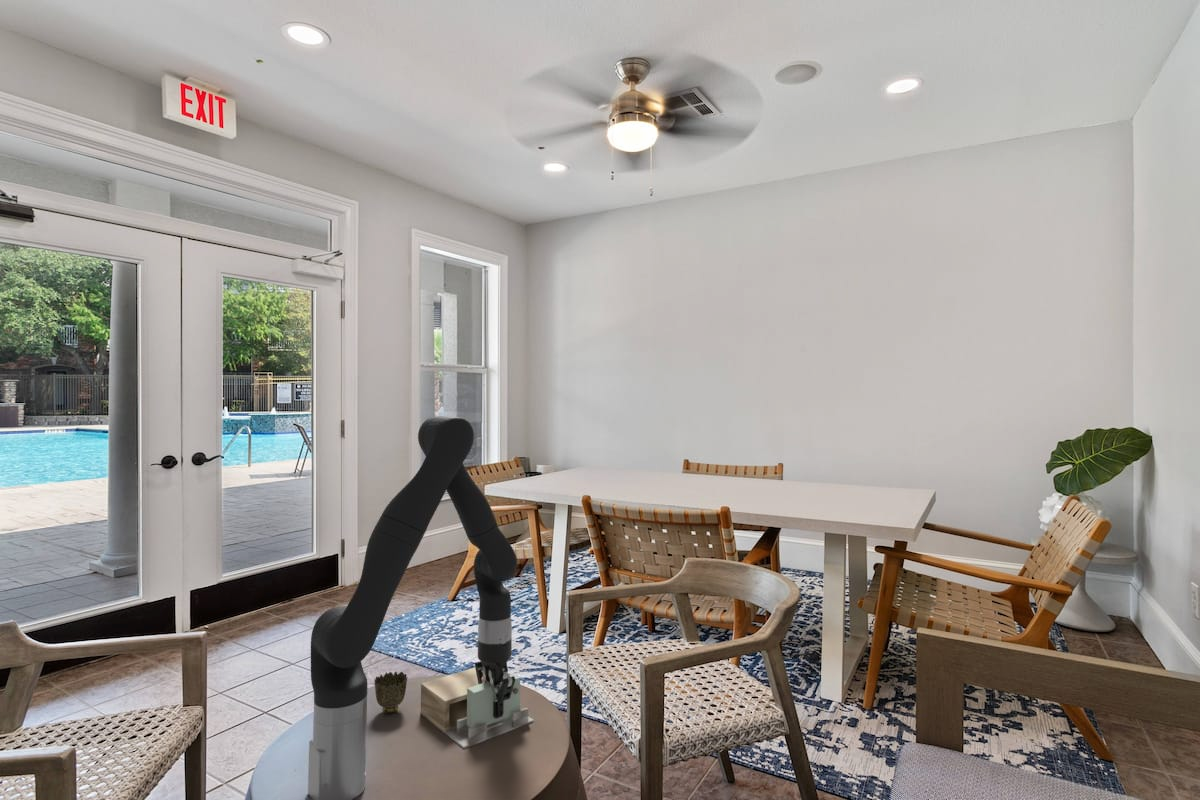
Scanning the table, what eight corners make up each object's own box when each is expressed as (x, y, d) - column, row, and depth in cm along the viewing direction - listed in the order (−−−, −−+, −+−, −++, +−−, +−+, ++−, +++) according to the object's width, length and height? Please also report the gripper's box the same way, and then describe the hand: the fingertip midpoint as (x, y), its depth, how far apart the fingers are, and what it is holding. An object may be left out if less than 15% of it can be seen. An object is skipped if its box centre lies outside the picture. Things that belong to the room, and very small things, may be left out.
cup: (372, 707, 148) (373, 673, 148) (404, 702, 151) (405, 669, 151) (375, 721, 141) (376, 686, 141) (408, 715, 144) (409, 680, 144)
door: (476, 732, 133) (476, 694, 133) (466, 725, 136) (467, 688, 136) (522, 714, 140) (522, 678, 141) (512, 708, 143) (513, 673, 144)
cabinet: (463, 748, 130) (464, 715, 130) (420, 713, 145) (421, 683, 145) (533, 721, 142) (534, 690, 142) (486, 691, 157) (487, 663, 157)
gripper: (464, 631, 142) (463, 708, 141) (497, 649, 131) (496, 731, 131) (492, 624, 147) (491, 698, 146) (526, 641, 136) (525, 720, 136)
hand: (493, 713), depth 138 cm, fingers closed on door, 3 cm apart
